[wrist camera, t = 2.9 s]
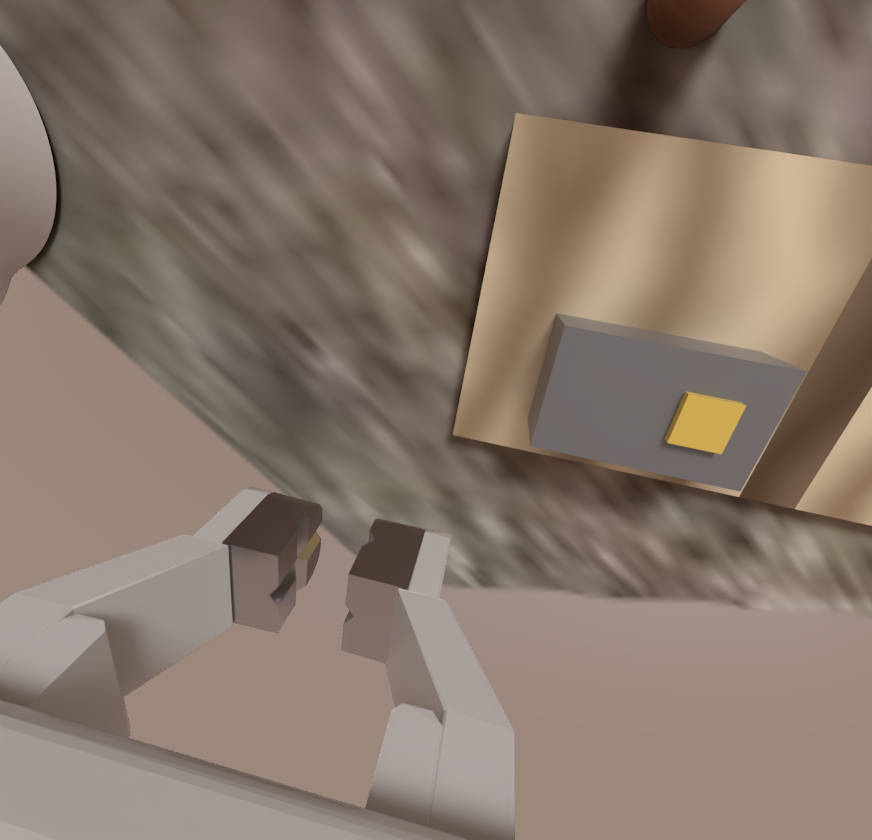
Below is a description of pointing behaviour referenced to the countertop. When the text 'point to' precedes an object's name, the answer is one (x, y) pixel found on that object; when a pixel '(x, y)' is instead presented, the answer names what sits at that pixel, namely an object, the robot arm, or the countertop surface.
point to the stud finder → (658, 401)
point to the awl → (688, 19)
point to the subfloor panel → (687, 286)
